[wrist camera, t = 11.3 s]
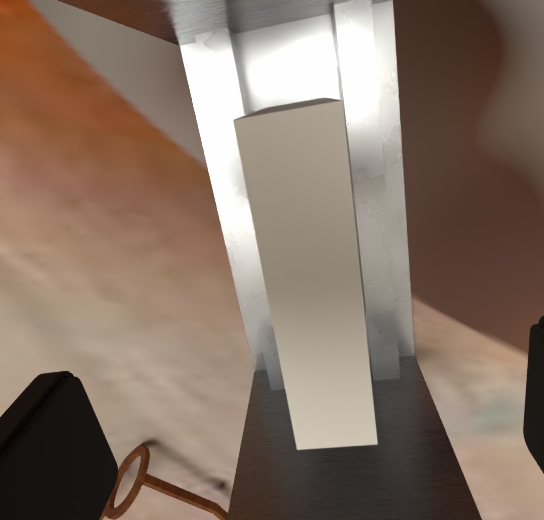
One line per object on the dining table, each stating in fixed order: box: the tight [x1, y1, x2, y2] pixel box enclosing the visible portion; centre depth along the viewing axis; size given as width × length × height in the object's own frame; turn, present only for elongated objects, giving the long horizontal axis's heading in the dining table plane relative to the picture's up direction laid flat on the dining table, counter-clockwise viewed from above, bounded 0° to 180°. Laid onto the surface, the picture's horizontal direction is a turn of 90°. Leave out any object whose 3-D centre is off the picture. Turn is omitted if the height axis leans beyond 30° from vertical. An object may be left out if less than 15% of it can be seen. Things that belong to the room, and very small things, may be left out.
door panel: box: [233, 97, 378, 450], centre depth 18 cm, size 12×3×10 cm, turn 10°
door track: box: [58, 0, 482, 520], centre depth 18 cm, size 22×10×12 cm, turn 10°
